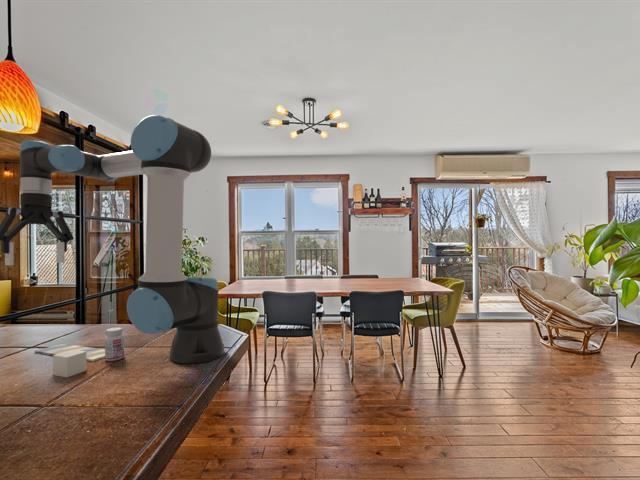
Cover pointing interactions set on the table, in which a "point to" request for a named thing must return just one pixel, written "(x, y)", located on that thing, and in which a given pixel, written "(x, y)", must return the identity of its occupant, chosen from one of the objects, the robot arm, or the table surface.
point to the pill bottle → (114, 344)
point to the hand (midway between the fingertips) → (36, 263)
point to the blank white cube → (69, 363)
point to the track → (91, 353)
